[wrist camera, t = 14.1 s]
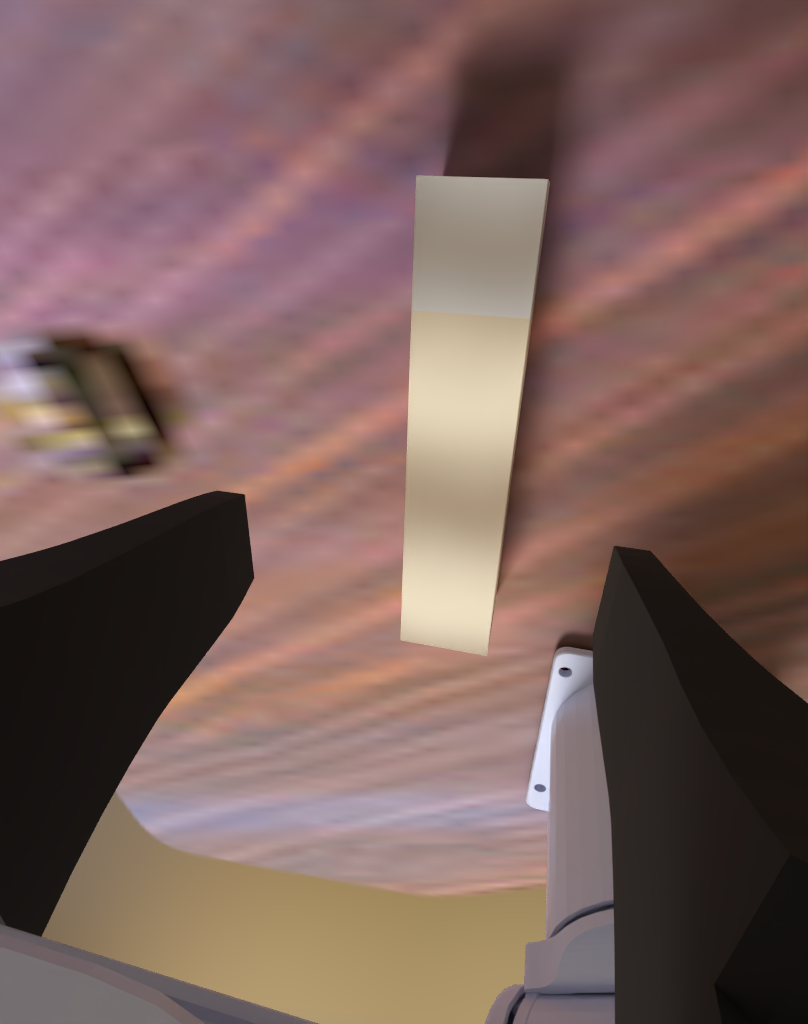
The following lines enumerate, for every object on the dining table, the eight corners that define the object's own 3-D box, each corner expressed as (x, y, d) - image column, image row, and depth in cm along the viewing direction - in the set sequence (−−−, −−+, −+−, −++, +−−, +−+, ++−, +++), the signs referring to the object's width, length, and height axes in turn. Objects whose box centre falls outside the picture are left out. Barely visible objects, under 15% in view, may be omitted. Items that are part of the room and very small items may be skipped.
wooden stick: (496, 595, 23) (486, 655, 20) (421, 583, 23) (400, 640, 20) (550, 182, 16) (547, 179, 13) (442, 179, 17) (416, 175, 14)
